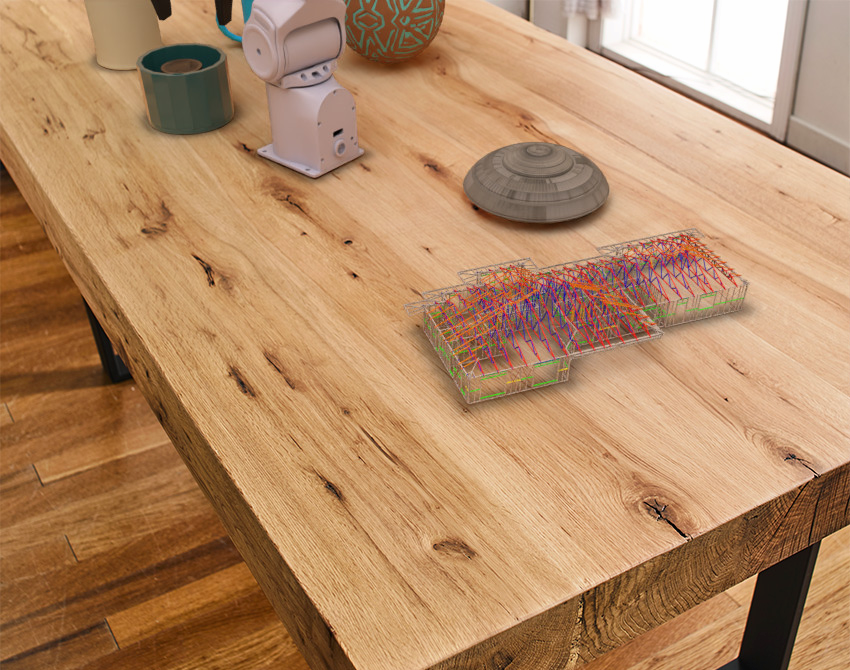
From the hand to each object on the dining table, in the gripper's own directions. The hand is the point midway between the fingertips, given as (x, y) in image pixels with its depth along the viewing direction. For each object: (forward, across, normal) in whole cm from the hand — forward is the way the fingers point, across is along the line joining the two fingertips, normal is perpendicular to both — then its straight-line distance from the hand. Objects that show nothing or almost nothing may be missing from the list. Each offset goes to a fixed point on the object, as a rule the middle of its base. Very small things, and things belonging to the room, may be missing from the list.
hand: (195, 20), depth 108 cm
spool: (+10, -1, -3) cm, 10 cm away
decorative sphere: (+10, +17, +20) cm, 29 cm away
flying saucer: (+10, +43, -14) cm, 46 cm away
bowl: (+10, -1, -3) cm, 11 cm away
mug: (+10, -2, +22) cm, 24 cm away
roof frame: (+10, +51, -34) cm, 62 cm away
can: (+10, -18, +13) cm, 24 cm away
